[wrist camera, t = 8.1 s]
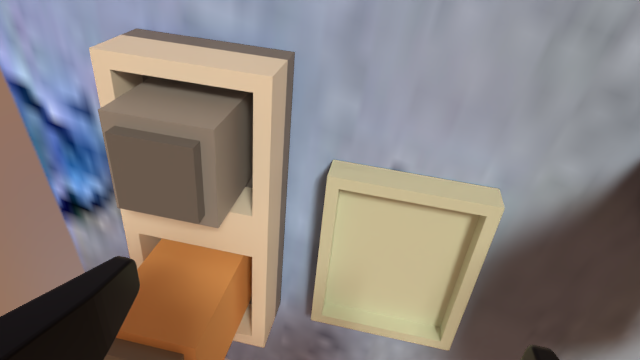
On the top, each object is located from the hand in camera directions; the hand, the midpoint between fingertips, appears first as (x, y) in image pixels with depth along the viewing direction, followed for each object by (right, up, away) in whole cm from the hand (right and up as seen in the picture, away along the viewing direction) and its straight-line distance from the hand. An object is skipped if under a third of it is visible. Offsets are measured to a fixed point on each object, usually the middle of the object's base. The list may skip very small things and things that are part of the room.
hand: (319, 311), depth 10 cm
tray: (+4, -1, +14) cm, 15 cm away
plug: (-6, -2, +15) cm, 17 cm away
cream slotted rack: (-5, +3, +14) cm, 15 cm away
